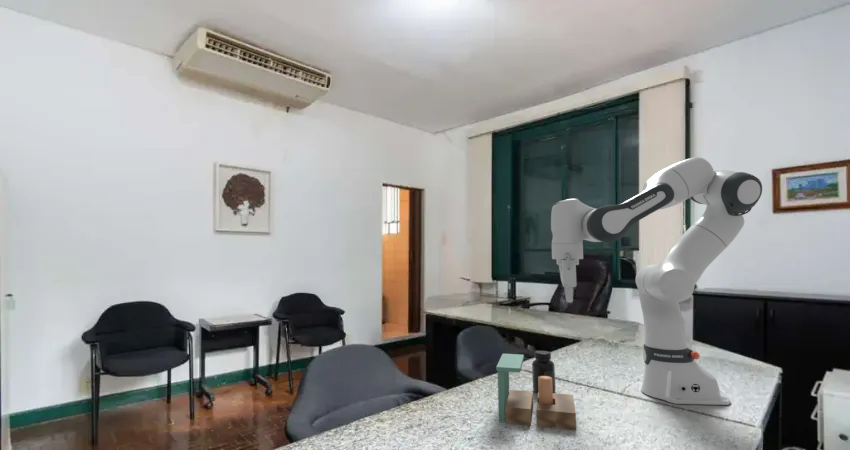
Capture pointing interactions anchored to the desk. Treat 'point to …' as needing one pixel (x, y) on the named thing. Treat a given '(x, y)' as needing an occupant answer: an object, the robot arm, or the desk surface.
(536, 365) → the supplement bottle
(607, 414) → the desk surface
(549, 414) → the socket block
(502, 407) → the teal u-shaped bracket
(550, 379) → the peg
